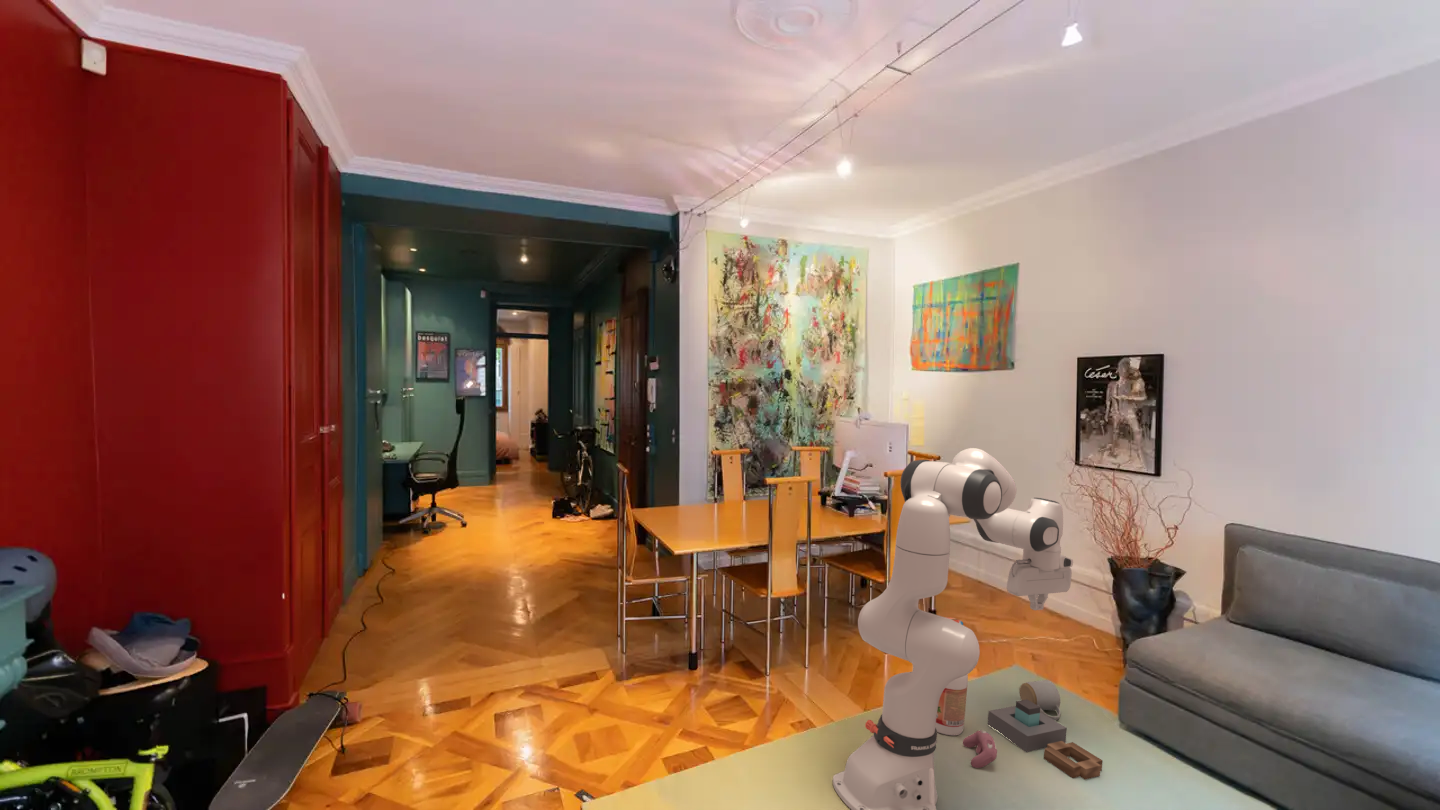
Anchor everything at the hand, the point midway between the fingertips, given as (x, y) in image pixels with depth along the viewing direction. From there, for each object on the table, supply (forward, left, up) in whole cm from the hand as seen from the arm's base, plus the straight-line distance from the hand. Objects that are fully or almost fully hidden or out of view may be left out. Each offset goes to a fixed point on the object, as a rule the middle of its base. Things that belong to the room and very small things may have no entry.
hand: (1036, 609), depth 159 cm
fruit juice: (-24, +5, -31) cm, 40 cm away
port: (-5, -4, -31) cm, 32 cm away
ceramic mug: (+11, +4, -31) cm, 33 cm away
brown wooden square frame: (-5, -17, -31) cm, 36 cm away
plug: (-5, -4, -31) cm, 32 cm away
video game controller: (-26, -8, -31) cm, 42 cm away
